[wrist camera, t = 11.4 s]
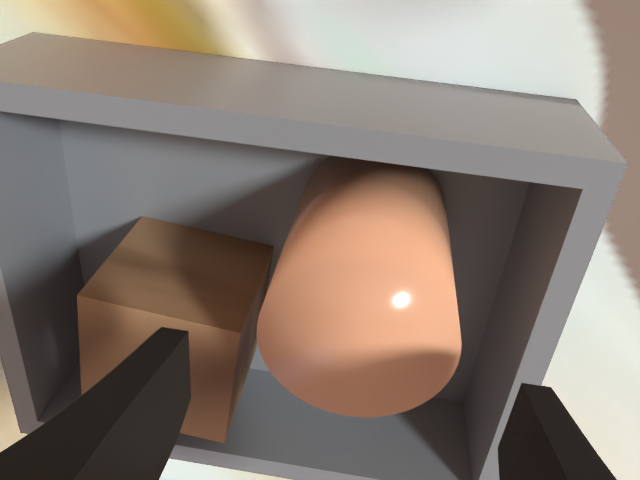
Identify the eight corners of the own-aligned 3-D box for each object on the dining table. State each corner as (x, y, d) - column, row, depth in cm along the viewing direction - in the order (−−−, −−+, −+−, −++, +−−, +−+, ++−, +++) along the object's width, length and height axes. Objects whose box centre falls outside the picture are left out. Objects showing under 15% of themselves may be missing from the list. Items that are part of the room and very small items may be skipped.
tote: (476, 408, 25) (490, 513, 21) (83, 345, 26) (20, 432, 22) (576, 99, 18) (628, 163, 14) (32, 32, 19) (-75, 71, 15)
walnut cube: (257, 346, 24) (224, 443, 20) (139, 319, 24) (82, 409, 20) (273, 246, 22) (240, 333, 17) (142, 215, 22) (76, 295, 17)
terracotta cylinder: (415, 288, 22) (418, 438, 16) (286, 249, 22) (239, 385, 16) (468, 170, 19) (496, 295, 13) (322, 124, 19) (282, 230, 13)
